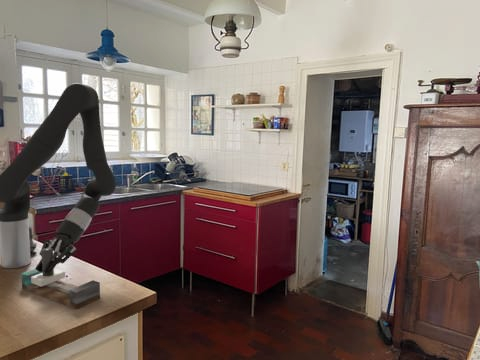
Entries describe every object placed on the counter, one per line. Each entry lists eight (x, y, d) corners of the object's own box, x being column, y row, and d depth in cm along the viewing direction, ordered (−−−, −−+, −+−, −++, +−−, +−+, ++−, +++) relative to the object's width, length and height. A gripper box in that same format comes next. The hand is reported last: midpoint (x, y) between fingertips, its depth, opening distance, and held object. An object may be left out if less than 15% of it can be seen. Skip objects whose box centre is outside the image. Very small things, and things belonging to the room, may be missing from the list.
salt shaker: (29, 257, 142) (27, 227, 141) (16, 255, 143) (14, 226, 142) (40, 252, 148) (39, 223, 146) (28, 250, 149) (26, 222, 147)
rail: (22, 288, 115) (21, 273, 114) (46, 279, 122) (45, 265, 121) (77, 309, 102) (76, 292, 102) (100, 298, 109) (99, 282, 109)
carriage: (31, 282, 112) (29, 251, 110) (55, 274, 119) (53, 244, 117) (41, 286, 110) (39, 254, 108) (65, 277, 116) (63, 247, 115)
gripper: (53, 216, 121) (19, 262, 112) (81, 221, 115) (47, 271, 106) (68, 227, 127) (36, 272, 118) (96, 234, 120) (64, 282, 111)
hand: (42, 271), depth 112 cm, fingers closed on carriage, 3 cm apart
